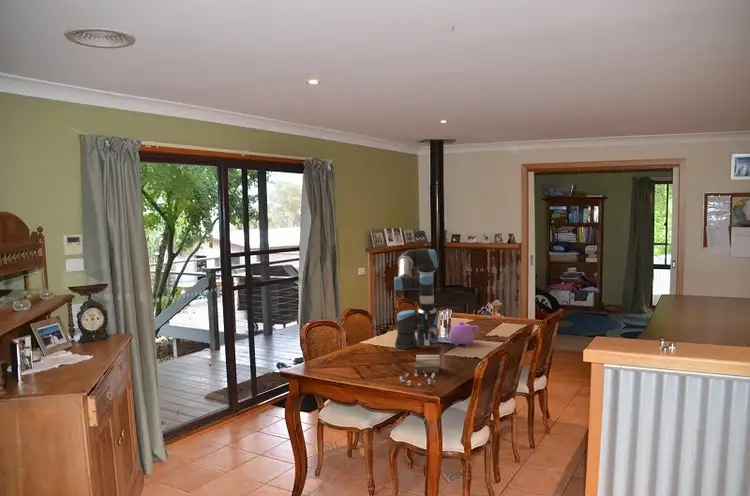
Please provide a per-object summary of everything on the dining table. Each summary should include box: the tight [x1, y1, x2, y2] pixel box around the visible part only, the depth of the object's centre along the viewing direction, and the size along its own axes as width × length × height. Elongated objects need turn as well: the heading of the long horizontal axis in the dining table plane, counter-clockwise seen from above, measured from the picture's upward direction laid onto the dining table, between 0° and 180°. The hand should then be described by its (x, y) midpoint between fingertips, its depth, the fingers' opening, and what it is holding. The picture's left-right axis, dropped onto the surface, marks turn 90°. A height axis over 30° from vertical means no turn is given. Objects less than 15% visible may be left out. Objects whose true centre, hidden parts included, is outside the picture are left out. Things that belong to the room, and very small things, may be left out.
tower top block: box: [415, 354, 441, 368], centre depth 322 cm, size 10×13×4 cm
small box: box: [416, 324, 439, 346], centre depth 321 cm, size 11×6×10 cm, turn 100°
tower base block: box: [414, 363, 440, 374], centre depth 323 cm, size 10×13×4 cm
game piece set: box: [399, 369, 436, 387], centre depth 304 cm, size 19×20×4 cm
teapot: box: [448, 321, 480, 347], centre depth 383 cm, size 20×20×15 cm
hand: (427, 343), depth 321 cm, fingers closed on small box, 8 cm apart
